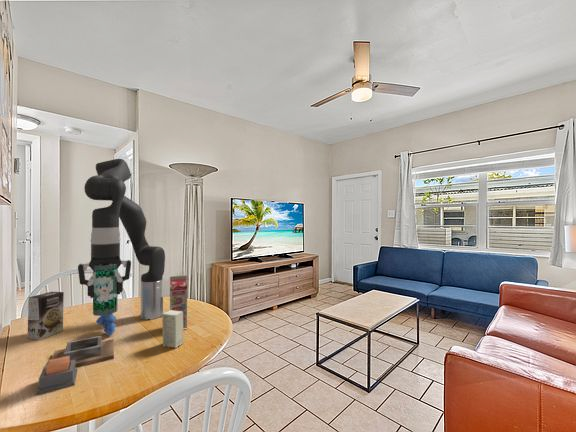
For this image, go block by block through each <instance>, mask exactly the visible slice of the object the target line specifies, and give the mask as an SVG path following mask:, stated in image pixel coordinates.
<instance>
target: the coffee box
mask: <svg viewBox="0 0 576 432" xmlns="http://www.w3.org/2000/svg"><path fill="white" fill-rule="evenodd" d="M64 295H65V294H64V292H62V291H49V292H44V293H41V294H37V295H36V294H35V295H33V296H28V302H27V303H28V304H27V305H28V307H27V308H28V309H27V310H28V311H27V336H26V337H27V338H26V339H28V338H29V340H36V341H41V340H44V339H46V338H48V337H51V336H53V335H55V334H56V335H57V334H59V333H61V332H63V331H64V299H65V297H64Z"/></svg>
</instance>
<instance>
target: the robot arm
mask: <svg viewBox="0 0 576 432" xmlns="http://www.w3.org/2000/svg"><path fill="white" fill-rule="evenodd" d="M95 172H96V174H97V175H92V176H90V177H88V178H87V180H86V182H85V184H84V186H83V187H84V193H85V195H86V196H87V197H88V198H89V199H90V200H92V201H112V202H111V204H109V205H108V206H104V207H99V208H95V209H94V210H92V214H91V226H92V227H91V233H90V261H89V262H86V263H78V266H77V272H78V279H79V284H80V285H82V286H86V287H87V297H90V299H93V282H94V279H95V272H94V274H93V273H92V275H91V276H90V278H89V279H86V274H85V273H86V271H87V269H88V268H90V269H91V270H92V272H93V271H94V266H95V265H99V266H105V265H112V264H117V269H119V268H120V266H121V265H122V267H123V268H124V269H125V270H124V271H125V272H124V275H123V276H122V275H121V273H120V272H119V271H118V272H117V270H116V269H115V277H117V280H118V295H121V293H122V292H123V291H124V288H123V287H124V281H128V280H130V275H131V267H132V261H131V260H130V259H128V260H122V259H121V247H120V246H121V231H120V221H121V224H122V226H123V227H124V229H125V231H126V234H127V236H128V238H129V240H130V243H131V245H132V248H133V251H134V253H135V254H134V255H135V257H136V260H137V262H138V263H139V264H140V265H142V266H145V267H146V266H148V270H147V272H145V273H143V274H141V276H140V319H141V320H145V321H146V320H148V319H150V320H155V319H158V317H159V318H161V317H162V313H164V296H163V279H164V278H163V275H164V273H165V267H166V266H165V265H166V264H165V263H166V254H165V250H164V248H163V247H161V246H154V245H153V246H151V245H150V244H149V243H148V241H147V239H146V235H145V233H146V229H147V218H146V216H145V213H144V211H143V209H142V208H141V206H140V205H139V204H138V203H136V201H134V200H132V199H130V198H129V197H127V196H125V195H126V192H127V186H126V184H125V182H126V181H128V180H129V179H130V178H131V170H130V167H129V165H128V163H127V162H126V160H124V159H122V158H115V159H110V160H105V161H100V162H97V163H96V164H95ZM160 316H161V317H160ZM154 318H155V319H154ZM148 321H149V320H148Z"/></svg>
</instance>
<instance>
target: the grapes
mask: <svg viewBox="0 0 576 432" xmlns="http://www.w3.org/2000/svg"><path fill="white" fill-rule="evenodd" d="M116 319H117V317H116V316H115V315H114V313H113V314H108V315H104V316H98V317H97V319H96V321H95V322H96V323H97V324H98V325H99V326H103V327H104V329H103V332H104V333H106V335H108V336H112V335H113V334H114V333H115V329H116V327H117V324H116V323H115V320H116Z"/></svg>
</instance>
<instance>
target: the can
mask: <svg viewBox="0 0 576 432" xmlns="http://www.w3.org/2000/svg"><path fill="white" fill-rule="evenodd" d="M115 269H116V270H117V272H119V270H118V269H119V268H118V269H117V264H112V265H105V266H99V265H95V266H94V271H93V270H92V274H94V272H95V279H94V282H93V298H92V315H93V316H96V317H101V316H104V315H108V314H113V315H114V314H115V313H117V312H118V307H119V306H118V305H119V304H118V301H119V300H118V297H119V296H118V295H119V294H118V280H117V277H115Z"/></svg>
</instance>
